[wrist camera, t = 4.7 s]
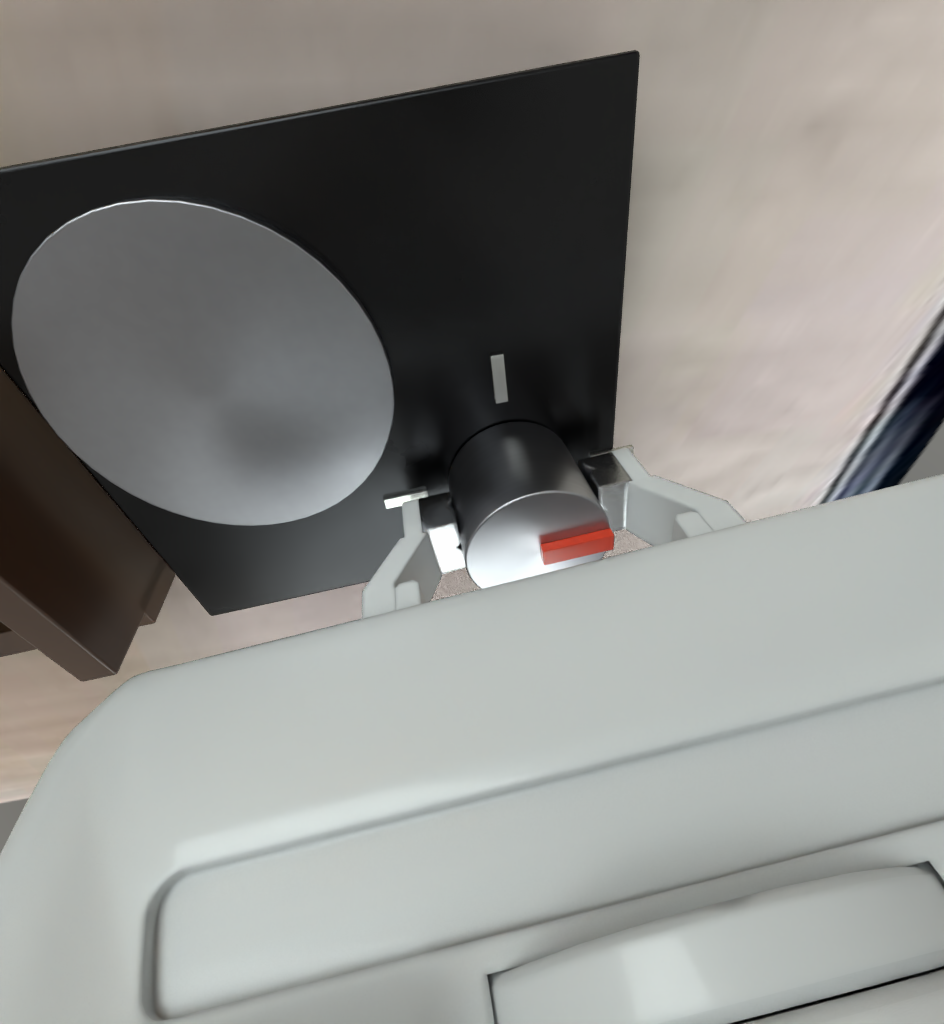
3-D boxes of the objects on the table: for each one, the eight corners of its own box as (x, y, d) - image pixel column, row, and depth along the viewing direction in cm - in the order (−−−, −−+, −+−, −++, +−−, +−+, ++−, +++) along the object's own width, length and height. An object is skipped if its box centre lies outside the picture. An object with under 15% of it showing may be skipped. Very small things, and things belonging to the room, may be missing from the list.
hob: (235, 568, 20) (217, 630, 17) (-39, 178, 11) (-155, 195, 8) (594, 490, 20) (624, 540, 18) (611, 58, 11) (676, 41, 9)
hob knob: (460, 533, 16) (478, 621, 14) (436, 437, 14) (453, 521, 11) (570, 508, 17) (612, 589, 14) (568, 407, 14) (619, 482, 11)
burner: (158, 542, 15) (154, 551, 14) (-90, 240, 9) (-106, 244, 9) (422, 486, 15) (423, 493, 15) (336, 159, 9) (334, 161, 9)
